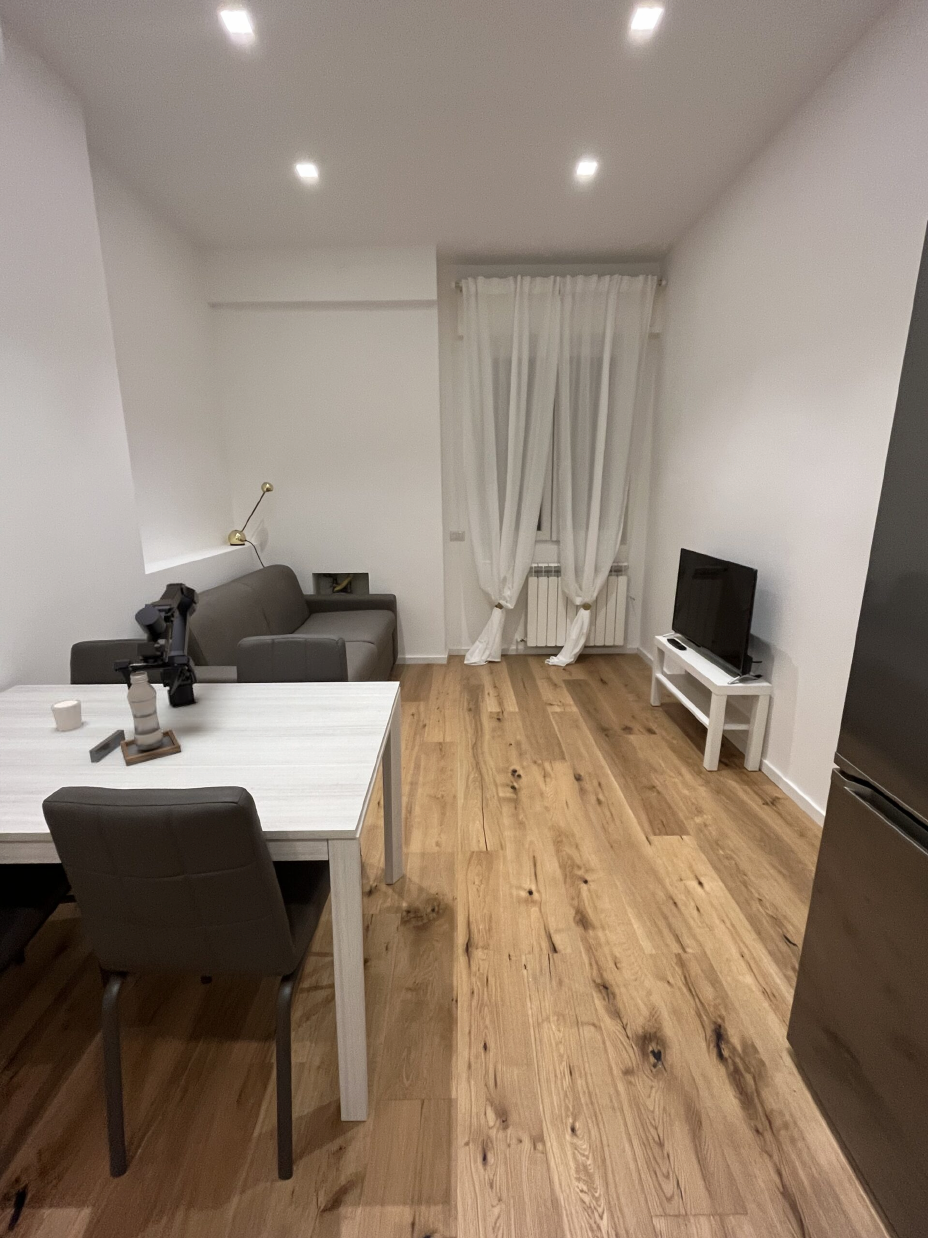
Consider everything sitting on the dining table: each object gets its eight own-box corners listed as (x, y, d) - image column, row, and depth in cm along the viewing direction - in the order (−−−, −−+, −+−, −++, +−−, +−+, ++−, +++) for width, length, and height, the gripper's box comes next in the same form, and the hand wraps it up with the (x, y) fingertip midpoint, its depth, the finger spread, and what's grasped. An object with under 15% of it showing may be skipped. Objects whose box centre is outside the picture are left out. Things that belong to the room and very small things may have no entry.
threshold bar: (119, 740, 146) (118, 729, 145) (125, 740, 146) (123, 729, 145) (91, 762, 134) (89, 750, 133) (97, 762, 134) (95, 750, 133)
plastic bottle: (168, 740, 144) (157, 668, 139) (159, 752, 137) (147, 677, 133) (141, 743, 143) (129, 670, 138) (131, 755, 136) (118, 679, 131)
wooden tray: (172, 735, 148) (171, 729, 148) (181, 751, 139) (180, 745, 139) (120, 747, 141) (119, 741, 141) (126, 766, 132) (125, 759, 132)
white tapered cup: (69, 733, 150) (64, 709, 149) (48, 731, 152) (44, 707, 150) (90, 722, 157) (86, 700, 155) (70, 721, 158) (66, 698, 156)
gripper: (108, 631, 142) (98, 686, 134) (186, 626, 146) (181, 679, 138) (123, 651, 151) (115, 704, 143) (197, 646, 155) (192, 697, 147)
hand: (151, 695), depth 143 cm, fingers open, 9 cm apart
